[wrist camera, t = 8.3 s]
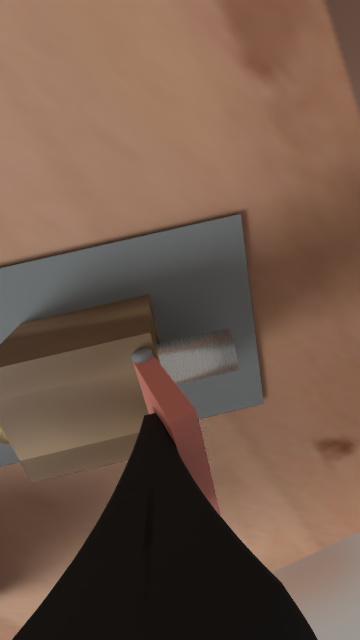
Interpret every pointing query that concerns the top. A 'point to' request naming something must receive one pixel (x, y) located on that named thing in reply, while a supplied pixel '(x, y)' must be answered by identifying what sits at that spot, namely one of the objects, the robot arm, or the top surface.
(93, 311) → the block
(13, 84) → the top surface
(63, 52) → the top surface
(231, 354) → the pin
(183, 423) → the strip
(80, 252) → the mat
